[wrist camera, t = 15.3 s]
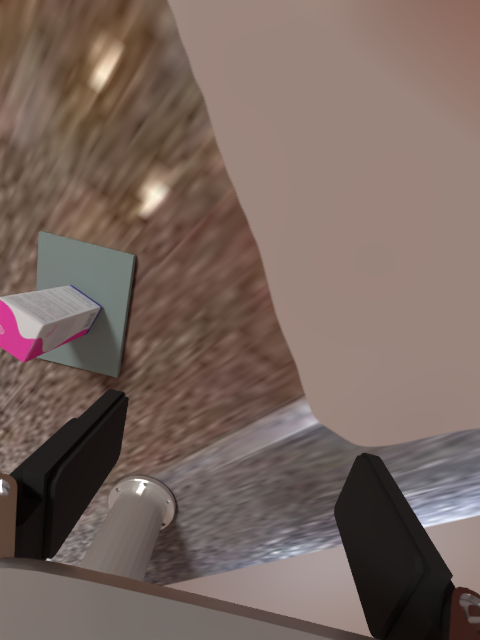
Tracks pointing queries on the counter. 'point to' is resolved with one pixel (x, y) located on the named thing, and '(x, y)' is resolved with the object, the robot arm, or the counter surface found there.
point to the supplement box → (44, 320)
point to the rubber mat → (100, 285)
